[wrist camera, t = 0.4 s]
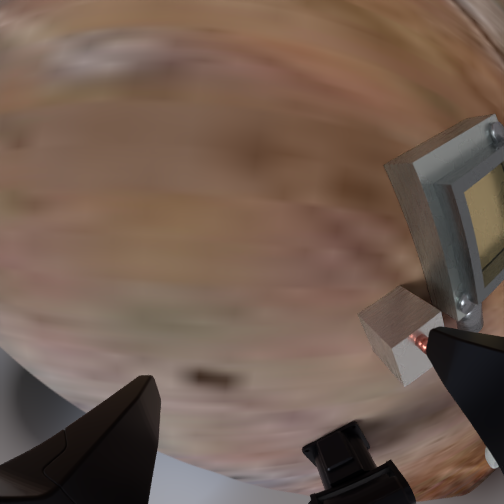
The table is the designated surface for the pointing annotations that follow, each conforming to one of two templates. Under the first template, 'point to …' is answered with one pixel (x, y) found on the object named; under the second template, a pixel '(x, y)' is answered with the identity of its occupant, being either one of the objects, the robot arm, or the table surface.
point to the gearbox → (456, 214)
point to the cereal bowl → (490, 459)
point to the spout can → (401, 332)
